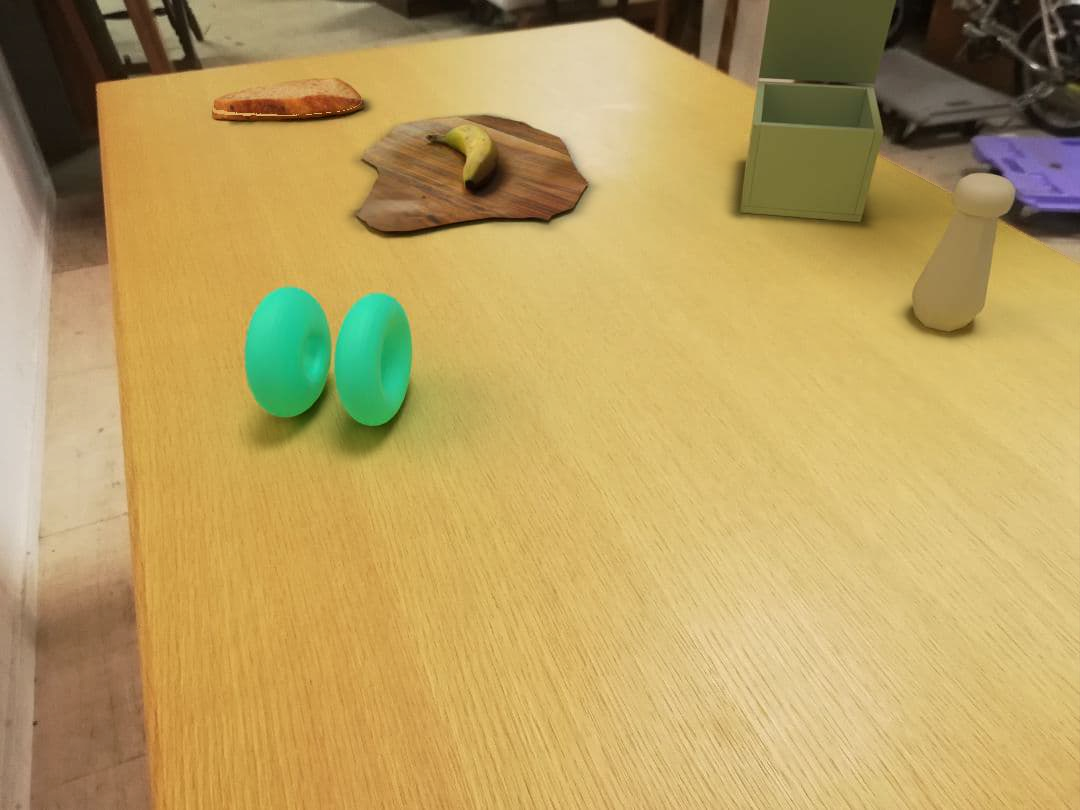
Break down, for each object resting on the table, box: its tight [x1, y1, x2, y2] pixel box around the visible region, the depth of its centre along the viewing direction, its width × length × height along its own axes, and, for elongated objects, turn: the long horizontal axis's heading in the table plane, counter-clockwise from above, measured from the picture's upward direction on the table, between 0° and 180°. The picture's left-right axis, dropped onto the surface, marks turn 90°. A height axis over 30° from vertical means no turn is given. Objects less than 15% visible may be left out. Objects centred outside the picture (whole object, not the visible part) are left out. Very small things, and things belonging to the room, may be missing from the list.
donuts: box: [244, 286, 413, 427], centre depth 59 cm, size 10×10×10 cm
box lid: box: [758, 0, 897, 85], centre depth 85 cm, size 14×13×5 cm
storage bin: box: [739, 80, 884, 223], centre depth 87 cm, size 14×13×10 cm
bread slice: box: [211, 77, 365, 122], centre depth 114 cm, size 18×18×4 cm
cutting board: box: [356, 114, 590, 232], centre depth 96 cm, size 35×27×4 cm
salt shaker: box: [911, 172, 1017, 333], centre depth 65 cm, size 6×6×13 cm
